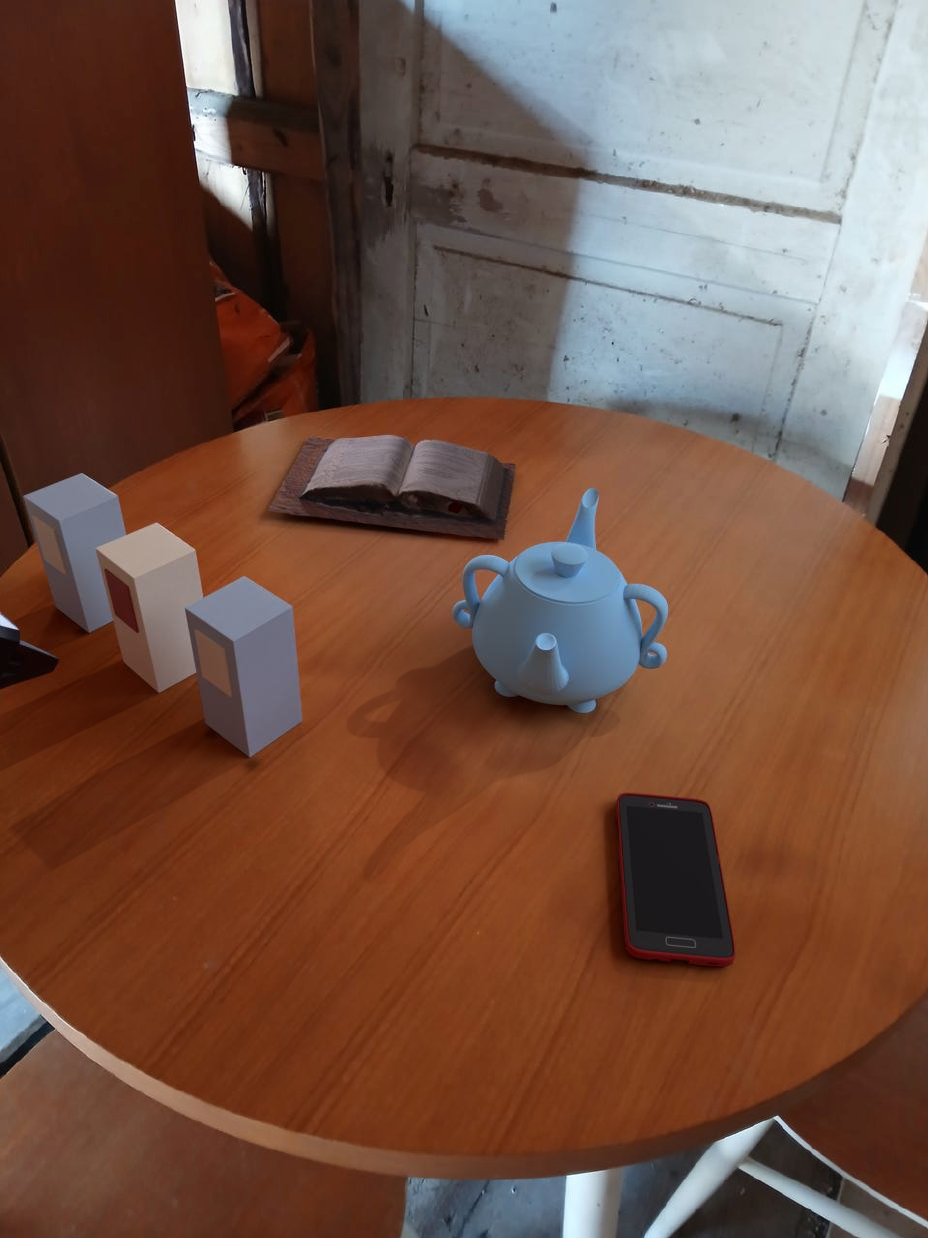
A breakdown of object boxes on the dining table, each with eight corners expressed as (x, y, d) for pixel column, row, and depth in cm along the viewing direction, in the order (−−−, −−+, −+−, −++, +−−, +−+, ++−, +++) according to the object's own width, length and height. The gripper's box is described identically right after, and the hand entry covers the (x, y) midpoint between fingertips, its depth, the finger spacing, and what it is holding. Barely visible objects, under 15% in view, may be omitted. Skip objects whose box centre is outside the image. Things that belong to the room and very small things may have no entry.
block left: (87, 634, 88) (56, 521, 80) (53, 608, 91) (20, 496, 83) (142, 606, 92) (118, 495, 84) (108, 581, 95) (81, 472, 87)
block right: (247, 759, 77) (230, 642, 68) (203, 724, 79) (182, 608, 71) (302, 721, 80) (292, 606, 72) (258, 689, 83) (244, 575, 75)
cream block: (156, 694, 82) (131, 579, 74) (121, 663, 85) (92, 548, 77) (214, 663, 86) (195, 549, 78) (178, 633, 89) (156, 521, 81)
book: (504, 546, 104) (508, 512, 101) (265, 516, 105) (264, 481, 103) (515, 472, 120) (519, 440, 118) (308, 446, 121) (308, 414, 119)
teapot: (577, 598, 97) (595, 483, 88) (682, 718, 83) (716, 597, 74) (437, 632, 91) (442, 514, 82) (525, 768, 77) (542, 643, 69)
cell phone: (625, 959, 64) (627, 952, 63) (614, 798, 75) (616, 790, 75) (735, 970, 63) (738, 963, 63) (707, 806, 75) (710, 799, 74)
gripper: (-60, 520, 49) (149, 594, 62) (-203, 409, 58) (8, 495, 71) (-161, 700, 49) (70, 734, 62) (-288, 561, 58) (-61, 618, 71)
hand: (21, 636), depth 67 cm, fingers open, 9 cm apart
